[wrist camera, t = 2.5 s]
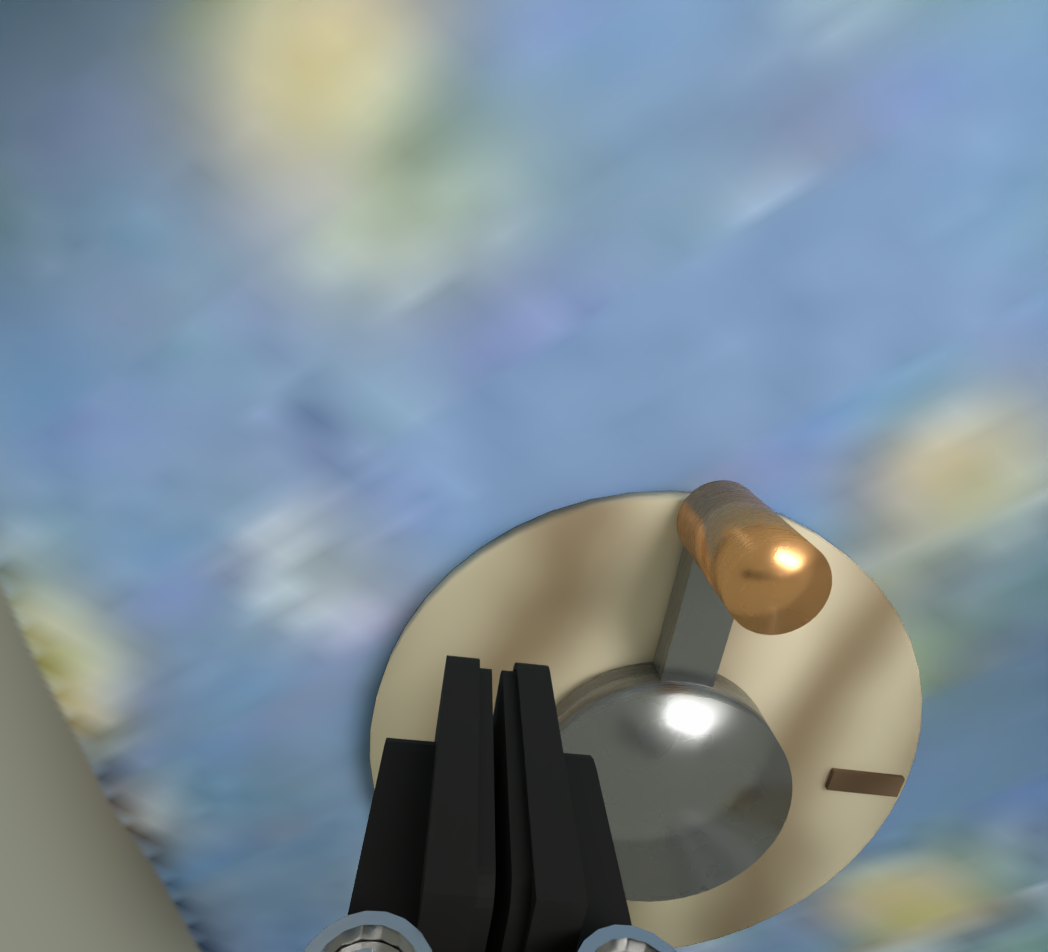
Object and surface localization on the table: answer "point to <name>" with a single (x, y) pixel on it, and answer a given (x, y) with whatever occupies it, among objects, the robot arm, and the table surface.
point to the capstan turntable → (699, 705)
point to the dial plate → (748, 661)
